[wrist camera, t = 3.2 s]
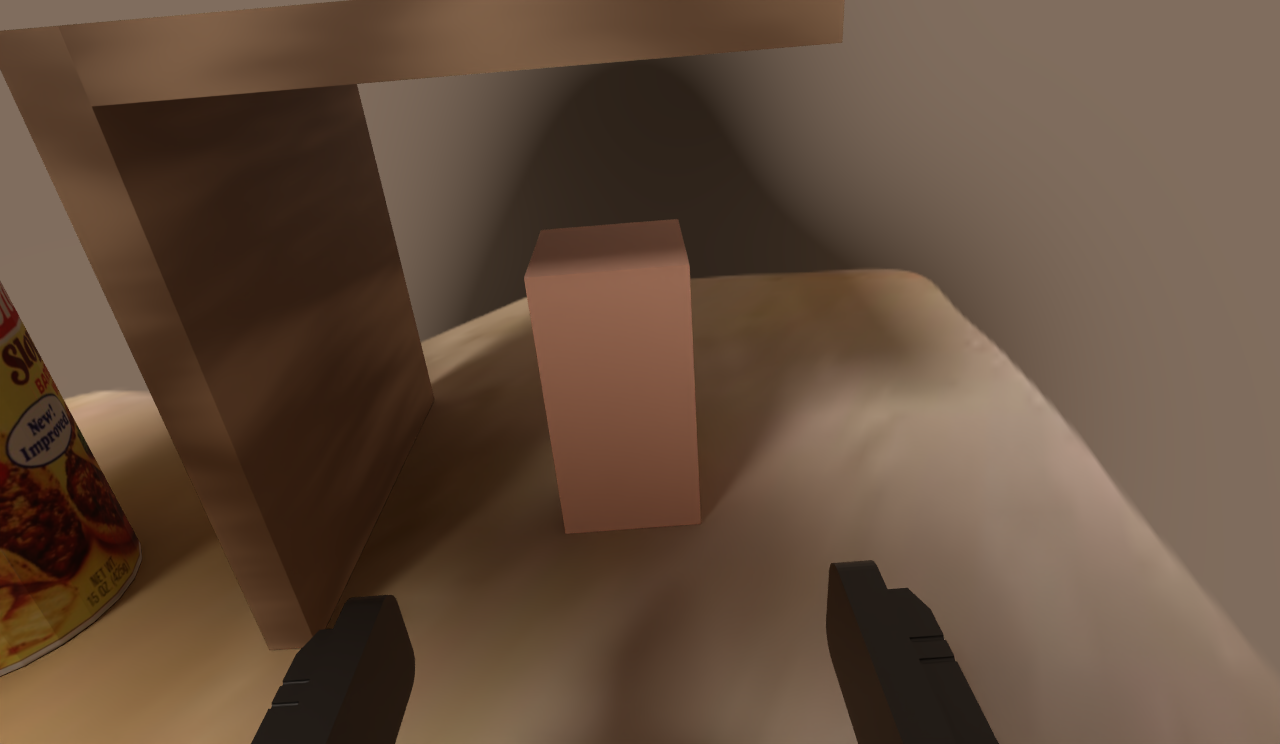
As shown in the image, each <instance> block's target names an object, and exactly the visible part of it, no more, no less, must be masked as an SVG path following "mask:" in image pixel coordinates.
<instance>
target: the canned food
mask: <svg viewBox="0 0 1280 744" xmlns="http://www.w3.org/2000/svg"><path fill="white" fill-rule="evenodd" d="M141 560H142V554H141V544H140V542H139V540H138V538H137V537H136V535H135V533H134V531H133V529H132V527H131V525H130V523H129V522H128V520H127V518H126V516H125V514H124V512H123V510H122V508H121V507H120V505H119V503H118V501H117V499H116V497H115V495H114V493H113V492H112V490H111V488H110V486H109V484H108V482H107V480H106V478H105V476H104V475H103V473H102V471H101V469H100V467H99V465H98V463H97V461H96V460H95V458H94V456H93V454H92V452H91V450H90V448H89V446H88V445H87V443H86V441H85V439H84V437H83V435H82V433H81V431H80V430H79V428H78V426H77V424H76V422H75V420H74V418H73V416H72V415H71V413H70V411H69V409H68V407H67V405H66V403H65V401H64V399H63V398H62V396H61V394H60V392H59V390H58V388H57V387H56V384H55V383H54V381H53V379H52V377H51V375H50V373H49V371H48V370H47V368H46V366H45V364H44V362H43V360H42V358H41V356H40V354H39V353H38V351H37V349H36V347H35V345H34V343H33V342H32V339H31V338H30V336H29V334H28V332H27V330H26V328H25V326H24V324H23V322H22V321H21V319H20V317H19V315H18V313H17V311H16V310H15V308H14V306H13V304H12V302H11V300H10V298H9V296H8V294H7V292H6V291H5V289H4V287H3V285H2V283H1V281H0V676H2V675H4V674H7V673H9V672H11V671H14V670H16V669H18V668H21V667H23V666H25V665H27V664H29V663H30V662H32V661H34V660H36V659H38V658H39V657H41V656H43V655H45V654H46V653H48V652H50V651H52V650H54V649H55V648H57V647H59V646H61V645H62V644H64V643H65V642H67V641H68V640H69V639H71V638H72V637H74V636H75V635H76V634H78V633H79V632H81V631H82V630H83V629H85V628H86V627H88V626H89V625H90V624H92V623H93V622H95V621H96V620H97V619H98V618H99V617H100V616H101V615H102V614H103V613H104V612H105V611H106V610H107V609H109V608H110V607H111V606H112V605H113V604H114V603H115V602H116V601H117V600H118V599H119V598H120V597H121V595H122V594H123V593H124V591H125V590H126V589H127V587H128V586H129V585H130V583H131V582H132V581H133V579H134V578H135V576H136V573H137V571H138V568H139V566H140V563H141Z"/></svg>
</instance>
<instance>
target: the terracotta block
mask: <svg viewBox="0 0 1280 744" xmlns="http://www.w3.org/2000/svg"><path fill="white" fill-rule="evenodd" d="M524 280H525V286H526V292H527V298H528V305H529V311H530V317H531V323H532V329H533V336H534V342H535V348H536V354H537V360H538V366H539V373H540V379H541V385H542V391H543V397H544V403H545V410H546V416H547V422H548V428H549V434H550V440H551V447H552V453H553V459H554V465H555V471H556V477H557V484H558V490H559V496H560V502H561V508H562V515H563V521H564V527H565V533H566V534H571V533H584V532H598V531H611V530H625V529H639V528H652V527H666V526H679V525H693V524H701V511H700V489H699V467H698V445H697V422H696V400H695V378H694V356H693V334H692V311H691V289H690V267H689V261H688V257H687V253H686V249H685V245H684V242H683V238H682V233H681V230H680V226H679V222H678V219H673V220H662V221H650V222H649V221H648V222H636V223H623V224H611V225H599V226H587V227H574V228H562V229H549V230H541V232H540V235H539V238H538V241H537V243H536V246H535V249H534V252H533V254H532V258H531V261H530V263H529V266H528V268H527V271H526V274H525V277H524Z"/></svg>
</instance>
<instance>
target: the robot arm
mask: <svg viewBox="0 0 1280 744" xmlns="http://www.w3.org/2000/svg"><path fill="white" fill-rule="evenodd" d="M826 632H827V641H828V647H829V651H830V656H831V659H832V662H833V666H834V669H835V672H836V675H837V678H838V681H839V685H840V688H841V691H842V694H843V697H844V700H845V703H846V707H847V710H848V713H849V716H850V719H851V722H852V726H853V729H854V732H855V735H856V738H857V741H858V744H999V743H998V741H997V740H996V738H995V736H994V734H993V732H992V730H991V728H990V726H989V724H988V722H987V720H986V718H985V716H984V714H983V712H982V710H981V708H980V706H979V704H978V702H977V700H976V698H975V696H974V694H973V692H972V690H971V688H970V686H969V684H968V682H967V680H966V678H965V676H964V674H963V672H962V671H961V669H960V667H959V665H958V663H957V662H955V659H954V655H953V653H952V651H951V649H950V647H949V645H948V643H947V641H946V640H944V637H943V633H942V631H941V629H940V627H939V625H938V623H937V621H936V619H935V617H934V615H933V613H932V611H931V609H930V608H929V607H927V606H926V605H925V604H924V603H923V602H922V601H921V600H920V599H919V598H918V597H917V596H916V595H915V594H913V593H912V592H911V591H910V590H909V589H908V588H899V589H887V587H886V585H885V583H884V580H883V578H882V576H881V574H880V571H879V569H878V567H877V565H876V564H875V562H874V561H872V560H869V561H855V562H842V563H831V565H830V568H829V582H828V598H827V615H826ZM414 675H415V657H414V652H413V648H412V645H411V642H410V639H409V636H408V633H407V630H406V627H405V624H404V621H403V618H402V615H401V612H400V609H399V606H398V603H397V600H396V598H395V597H394V596H393V595H380V596H367V597H353V598H350V599H349V600H347V602H346V603H345V605H344V607H343V609H342V611H341V613H340V615H339V617H338V619H337V622H336V624H335V626H334V628H333V629H322V630H319V631H318V632H317V633H316V634H315V635H314V636H313V637H312V638H311V639H310V640H309V641H308V642H307V643H306V644H305V645H304V646H303V648H302V649H301V650H300V651H299V652H298V653H297V654H296V656H295V658H294V660H293V662H292V664H291V666H290V668H289V670H288V672H287V673H286V675H285V677H284V679H283V685H282V686H280V687H279V689H278V691H277V693H276V695H275V697H274V699H273V701H272V707H271V709H268V711H267V713H266V715H265V717H264V719H263V721H262V723H261V725H260V727H259V729H258V731H257V733H256V735H255V737H254V739H253V741H252V743H251V744H395V742H396V739H397V735H398V732H399V729H400V726H401V722H402V719H403V716H404V713H405V710H406V706H407V703H408V700H409V697H410V693H411V690H412V687H413V682H414Z"/></svg>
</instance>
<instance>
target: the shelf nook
mask: <svg viewBox="0 0 1280 744" xmlns="http://www.w3.org/2000/svg"><path fill="white" fill-rule="evenodd" d="M843 19H844V0H349V1H338V2H326V3H315V4H303V5H292V6H282V7H281V6H280V7H270V8H269V7H268V8H257V9H246V10H235V11H222V12H211V13H199V14H189V15H176V16H165V17H153V18H142V19H132V20H119V21H108V22H96V23H85V24H73V25H62V26H50V27H39V28H28V29H16V30H4V31H0V70H1V71H2V74H3V76H4V78H5V81H6V83H7V85H8V87H9V89H10V91H11V93H12V96H13V98H14V100H15V102H16V104H17V106H18V108H19V111H20V113H21V115H22V117H23V119H24V121H25V124H26V126H27V128H28V130H29V132H30V134H31V137H32V139H33V141H34V143H35V145H36V147H37V150H38V152H39V154H40V156H41V158H42V160H43V162H44V164H45V167H46V169H47V171H48V173H49V175H50V177H51V180H52V182H53V184H54V186H55V188H56V191H57V193H58V195H59V197H60V199H61V201H62V203H63V205H64V208H65V210H66V212H67V214H68V216H69V218H70V221H71V223H72V225H73V227H74V229H75V232H76V234H77V236H78V238H79V240H80V242H81V244H82V247H83V249H84V251H85V253H86V255H87V257H88V260H89V261H90V264H91V265H92V268H93V270H94V272H95V274H96V276H97V279H98V281H99V283H100V285H101V287H102V290H103V292H104V294H105V296H106V298H107V301H108V303H109V305H110V307H111V309H112V311H113V313H114V316H115V318H116V320H117V322H118V324H119V326H120V328H121V331H122V333H123V335H124V337H125V339H126V341H127V343H128V346H129V348H130V350H131V352H132V354H133V357H134V359H135V361H136V363H137V365H138V367H139V370H140V372H141V374H142V376H143V378H144V380H145V383H146V385H147V387H148V389H149V391H150V393H151V395H152V398H153V400H154V402H155V404H156V406H157V408H158V411H159V413H160V415H161V417H162V419H163V421H164V423H165V426H166V428H167V430H168V432H169V434H170V436H171V439H172V441H173V443H174V445H175V447H176V449H177V452H178V454H179V456H180V458H181V460H182V462H183V464H184V467H185V469H186V471H187V473H188V475H189V477H190V480H191V482H192V484H193V486H194V488H195V490H196V493H197V495H198V497H199V499H200V501H201V503H202V505H203V508H204V510H205V512H206V514H207V516H208V518H209V521H210V523H211V525H212V527H213V529H214V531H215V534H216V536H217V538H218V540H219V542H220V544H221V546H222V549H223V551H224V553H225V555H226V557H227V559H228V562H229V564H230V566H231V568H232V570H233V572H234V574H235V577H236V579H237V581H238V583H239V585H240V587H241V590H242V592H243V594H244V596H245V598H246V600H247V603H248V605H249V607H250V609H251V611H252V613H253V615H254V618H255V620H256V622H257V624H258V626H259V628H260V631H261V633H262V635H263V637H264V639H265V641H266V644H267V646H268V648H269V650H278V649H292V648H303V646H304V645H305V644H306V643H307V642H308V641H309V640H310V639H311V638H312V637H313V636H314V635H315V634H316V633H317V632H318V631H319V630H322V629H325V628H326V626H327V624H328V622H329V620H330V618H331V616H332V614H333V612H334V610H335V607H336V605H337V603H338V601H339V599H340V597H341V595H342V593H343V591H344V588H345V586H346V584H347V582H348V580H349V578H350V576H351V574H352V572H353V570H354V567H355V565H356V563H357V561H358V559H359V557H360V555H361V553H362V551H363V548H364V546H365V544H366V542H367V540H368V538H369V536H370V534H371V532H372V530H373V527H374V525H375V523H376V521H377V519H378V517H379V515H380V513H381V511H382V508H383V506H384V504H385V502H386V500H387V498H388V496H389V494H390V492H391V490H392V487H393V485H394V483H395V481H396V479H397V477H398V475H399V473H400V471H401V468H402V466H403V464H404V462H405V460H406V458H407V456H408V454H409V452H410V450H411V447H412V445H413V443H414V441H415V439H416V437H417V435H418V433H419V431H420V428H421V426H422V424H423V422H424V420H425V418H426V416H427V414H428V412H429V409H430V407H431V405H432V403H433V401H434V395H433V391H432V387H431V383H430V379H429V375H428V371H427V367H426V363H425V359H424V355H423V351H422V346H421V342H420V339H419V335H418V330H417V327H416V322H415V318H414V314H413V310H412V306H411V302H410V298H409V294H408V290H407V286H406V282H405V278H404V274H403V269H402V265H401V262H400V257H399V253H398V249H397V245H396V241H395V237H394V233H393V229H392V225H391V221H390V217H389V213H388V209H387V205H386V201H385V196H384V193H383V189H382V184H381V181H380V176H379V173H378V168H377V164H376V160H375V156H374V152H373V148H372V144H371V140H370V136H369V132H368V128H367V124H366V120H365V115H364V111H363V107H362V103H361V99H360V95H359V91H358V87H357V84H361V83H372V82H385V81H395V80H408V79H420V78H432V77H444V76H455V75H467V74H478V73H490V72H502V71H514V70H526V69H537V68H549V67H561V66H573V65H583V64H596V63H607V62H620V61H632V60H644V59H655V58H667V57H679V56H690V55H702V54H714V53H725V52H738V51H748V50H761V49H772V48H784V47H796V46H808V45H820V44H831V43H842V37H843Z"/></svg>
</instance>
